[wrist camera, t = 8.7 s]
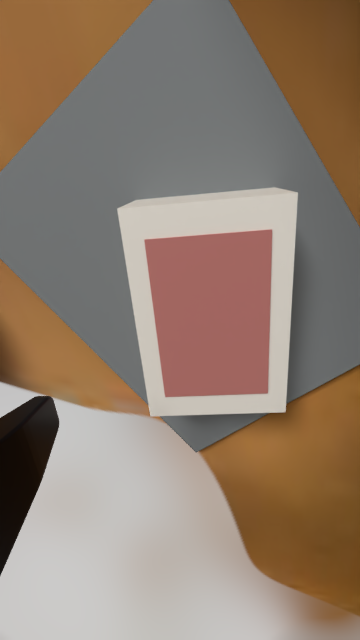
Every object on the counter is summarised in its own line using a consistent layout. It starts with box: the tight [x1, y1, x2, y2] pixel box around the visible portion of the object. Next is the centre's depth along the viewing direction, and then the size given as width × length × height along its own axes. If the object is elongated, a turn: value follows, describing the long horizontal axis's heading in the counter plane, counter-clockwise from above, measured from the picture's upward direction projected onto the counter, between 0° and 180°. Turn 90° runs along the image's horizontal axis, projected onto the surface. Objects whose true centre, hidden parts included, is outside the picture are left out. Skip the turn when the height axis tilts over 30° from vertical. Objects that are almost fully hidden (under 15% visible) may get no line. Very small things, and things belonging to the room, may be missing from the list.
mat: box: [0, 0, 360, 452], centre depth 16 cm, size 18×14×1 cm
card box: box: [117, 187, 298, 416], centre depth 14 cm, size 6×9×4 cm, turn 5°
